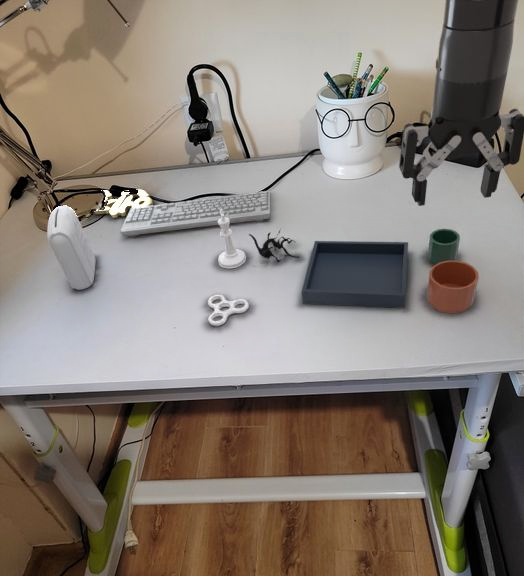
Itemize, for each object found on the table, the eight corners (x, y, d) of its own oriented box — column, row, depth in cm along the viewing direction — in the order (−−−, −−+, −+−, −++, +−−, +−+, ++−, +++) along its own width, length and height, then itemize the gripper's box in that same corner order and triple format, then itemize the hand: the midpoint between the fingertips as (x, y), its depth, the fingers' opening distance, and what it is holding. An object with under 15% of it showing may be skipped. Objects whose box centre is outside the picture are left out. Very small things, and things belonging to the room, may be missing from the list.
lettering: (161, 191, 110) (159, 187, 110) (145, 217, 104) (144, 212, 103) (59, 195, 116) (57, 191, 115) (38, 219, 109) (36, 215, 108)
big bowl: (472, 285, 76) (477, 260, 73) (474, 314, 72) (479, 289, 69) (426, 283, 78) (429, 259, 75) (426, 312, 74) (429, 288, 70)
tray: (407, 254, 83) (408, 241, 82) (404, 308, 75) (405, 295, 73) (315, 252, 87) (314, 240, 86) (302, 303, 79) (301, 291, 77)
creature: (278, 242, 93) (244, 254, 89) (280, 214, 90) (245, 225, 85) (308, 259, 88) (273, 272, 84) (311, 230, 85) (275, 242, 81)
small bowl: (455, 249, 83) (459, 228, 80) (456, 266, 80) (460, 245, 77) (427, 249, 84) (430, 228, 81) (427, 265, 81) (429, 244, 78)
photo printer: (75, 260, 96) (46, 201, 87) (97, 255, 96) (71, 196, 88) (71, 293, 89) (39, 233, 80) (95, 287, 89) (66, 227, 80)
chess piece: (221, 271, 87) (209, 221, 80) (216, 256, 91) (203, 206, 84) (249, 264, 88) (239, 213, 81) (242, 249, 91) (232, 198, 84)
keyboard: (270, 192, 103) (268, 183, 102) (271, 221, 96) (269, 212, 95) (131, 210, 106) (128, 202, 104) (122, 239, 99) (119, 231, 97)
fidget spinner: (208, 299, 82) (207, 295, 82) (247, 292, 82) (246, 288, 82) (209, 328, 77) (208, 324, 77) (250, 321, 77) (250, 317, 77)
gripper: (413, 89, 54) (404, 220, 66) (552, 68, 53) (517, 206, 65) (399, 66, 60) (393, 191, 71) (525, 46, 58) (498, 178, 70)
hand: (452, 198), depth 68 cm, fingers open, 8 cm apart
